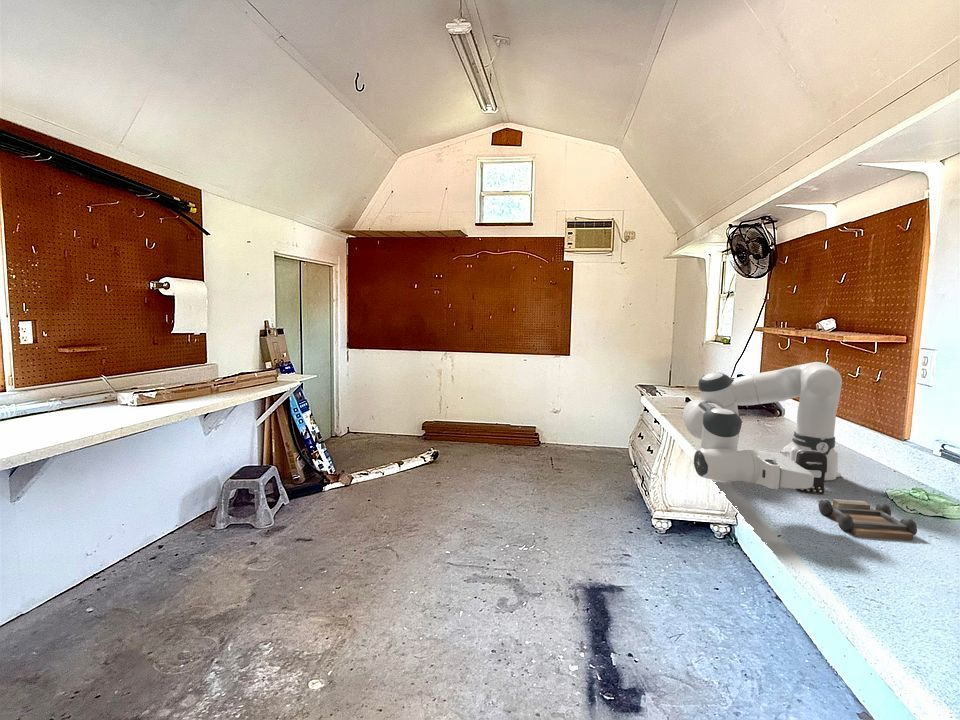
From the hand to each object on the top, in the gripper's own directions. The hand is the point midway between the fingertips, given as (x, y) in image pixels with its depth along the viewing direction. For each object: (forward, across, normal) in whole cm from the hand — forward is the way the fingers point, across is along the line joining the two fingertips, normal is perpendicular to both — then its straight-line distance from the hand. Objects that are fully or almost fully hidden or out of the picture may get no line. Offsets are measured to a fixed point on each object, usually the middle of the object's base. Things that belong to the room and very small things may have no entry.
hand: (814, 470), depth 134 cm
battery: (-1, +1, -6) cm, 7 cm away
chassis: (+14, -1, -14) cm, 20 cm away
